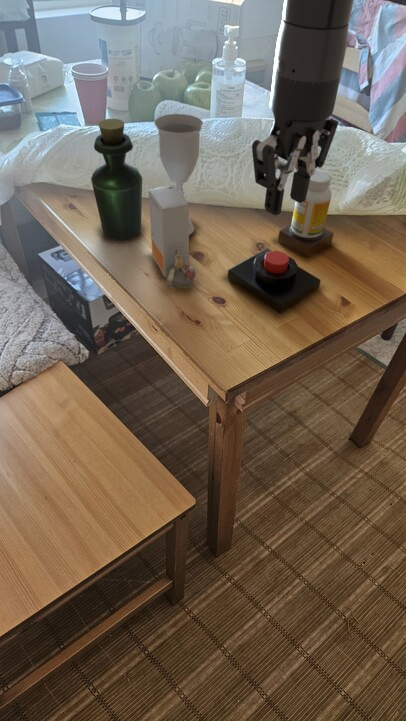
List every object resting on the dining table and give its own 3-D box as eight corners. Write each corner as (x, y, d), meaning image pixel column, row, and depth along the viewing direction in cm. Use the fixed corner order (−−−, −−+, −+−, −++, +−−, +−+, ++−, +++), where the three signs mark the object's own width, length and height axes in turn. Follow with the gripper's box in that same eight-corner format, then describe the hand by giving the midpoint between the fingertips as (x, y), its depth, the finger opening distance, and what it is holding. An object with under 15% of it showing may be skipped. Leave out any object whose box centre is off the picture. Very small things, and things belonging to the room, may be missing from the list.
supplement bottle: (287, 235, 84) (297, 180, 77) (294, 219, 87) (303, 165, 80) (320, 242, 82) (332, 187, 76) (325, 225, 86) (338, 171, 79)
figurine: (183, 271, 80) (183, 238, 76) (203, 283, 78) (204, 250, 74) (158, 285, 78) (157, 252, 73) (178, 298, 76) (178, 265, 71)
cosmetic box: (151, 257, 83) (147, 188, 74) (175, 251, 84) (174, 183, 75) (164, 278, 79) (161, 209, 70) (189, 272, 80) (190, 203, 71)
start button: (292, 268, 76) (294, 258, 75) (276, 277, 75) (277, 267, 73) (274, 257, 78) (276, 247, 77) (258, 266, 77) (259, 256, 75)
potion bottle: (123, 212, 92) (113, 108, 79) (155, 229, 88) (150, 123, 75) (88, 230, 87) (71, 123, 74) (120, 249, 84) (109, 140, 71)
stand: (331, 244, 87) (334, 231, 85) (307, 258, 84) (309, 245, 82) (302, 228, 90) (304, 215, 88) (277, 241, 87) (279, 228, 85)
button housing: (318, 288, 78) (323, 270, 76) (280, 313, 74) (283, 295, 71) (266, 256, 84) (268, 238, 81) (227, 278, 79) (228, 259, 77)
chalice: (154, 237, 87) (149, 129, 74) (163, 216, 91) (159, 112, 78) (196, 242, 86) (199, 134, 73) (203, 220, 91) (206, 116, 77)
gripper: (291, 91, 51) (270, 236, 64) (372, 63, 58) (339, 200, 71) (238, 71, 55) (228, 212, 68) (321, 47, 62) (298, 179, 74)
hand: (285, 205), depth 69 cm, fingers open, 4 cm apart
